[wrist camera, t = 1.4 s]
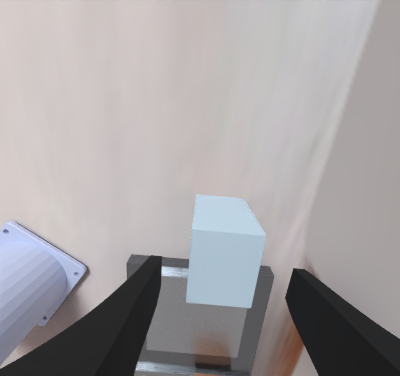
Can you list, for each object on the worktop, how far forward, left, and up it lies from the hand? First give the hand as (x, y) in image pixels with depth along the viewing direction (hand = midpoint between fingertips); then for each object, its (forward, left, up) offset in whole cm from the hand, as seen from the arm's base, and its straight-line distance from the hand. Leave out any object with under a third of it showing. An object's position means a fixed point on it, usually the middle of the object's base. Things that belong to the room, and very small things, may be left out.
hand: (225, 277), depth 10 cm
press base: (-11, -6, -6) cm, 15 cm away
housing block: (0, 0, -7) cm, 7 cm away
